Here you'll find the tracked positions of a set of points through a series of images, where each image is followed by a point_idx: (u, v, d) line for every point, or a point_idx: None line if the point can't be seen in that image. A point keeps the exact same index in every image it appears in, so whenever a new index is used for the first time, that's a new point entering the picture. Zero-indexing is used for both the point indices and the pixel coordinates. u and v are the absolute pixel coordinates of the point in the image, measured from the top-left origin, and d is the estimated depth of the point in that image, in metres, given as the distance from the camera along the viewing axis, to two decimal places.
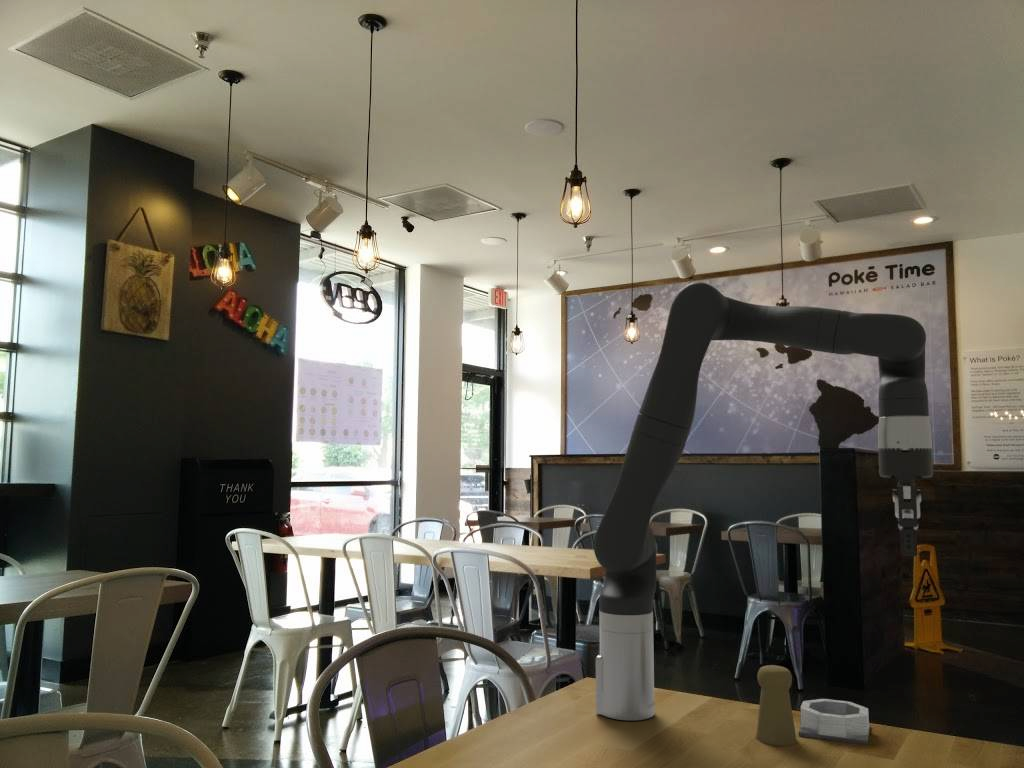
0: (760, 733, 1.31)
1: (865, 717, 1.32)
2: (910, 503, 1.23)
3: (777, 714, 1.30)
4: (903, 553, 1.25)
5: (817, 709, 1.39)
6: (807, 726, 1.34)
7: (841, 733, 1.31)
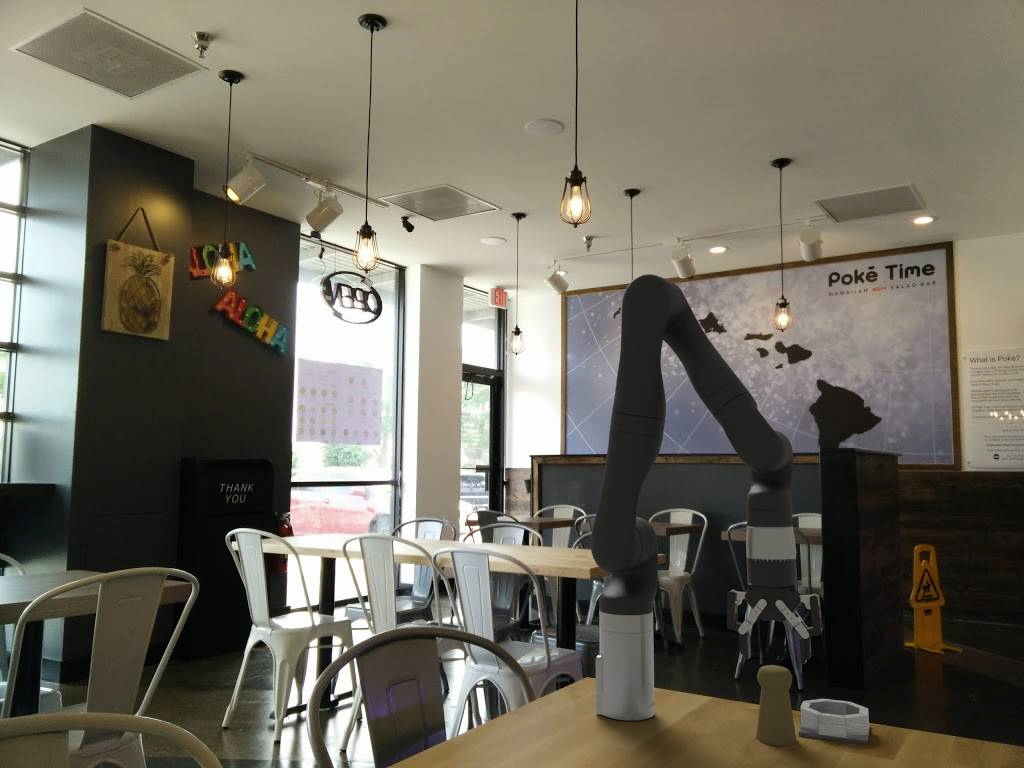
0: (760, 733, 1.31)
1: (865, 717, 1.32)
2: (820, 611, 1.31)
3: (777, 713, 1.30)
4: (805, 661, 1.30)
5: (817, 709, 1.39)
6: (807, 726, 1.34)
7: (841, 733, 1.31)
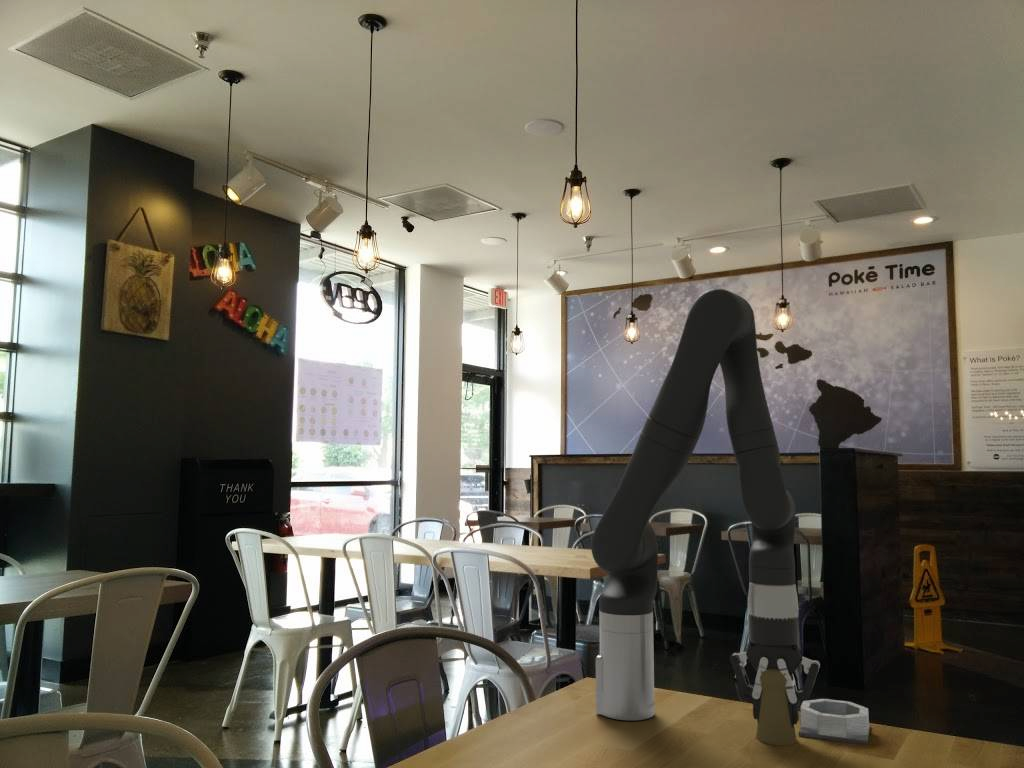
0: (760, 733, 1.31)
1: (865, 717, 1.32)
2: None
3: (777, 713, 1.30)
4: None
5: (817, 709, 1.39)
6: (807, 726, 1.34)
7: (841, 733, 1.31)
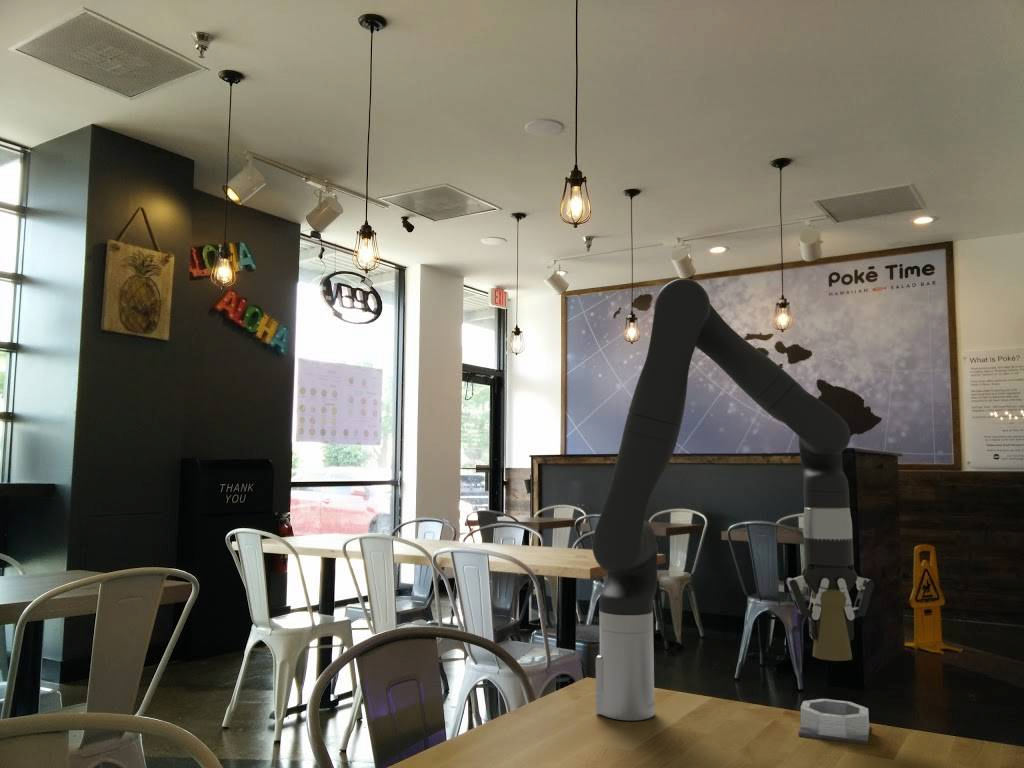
0: (823, 651, 1.35)
1: (865, 717, 1.32)
2: None
3: (839, 631, 1.35)
4: (850, 641, 1.36)
5: (817, 709, 1.39)
6: (807, 726, 1.34)
7: (841, 733, 1.31)
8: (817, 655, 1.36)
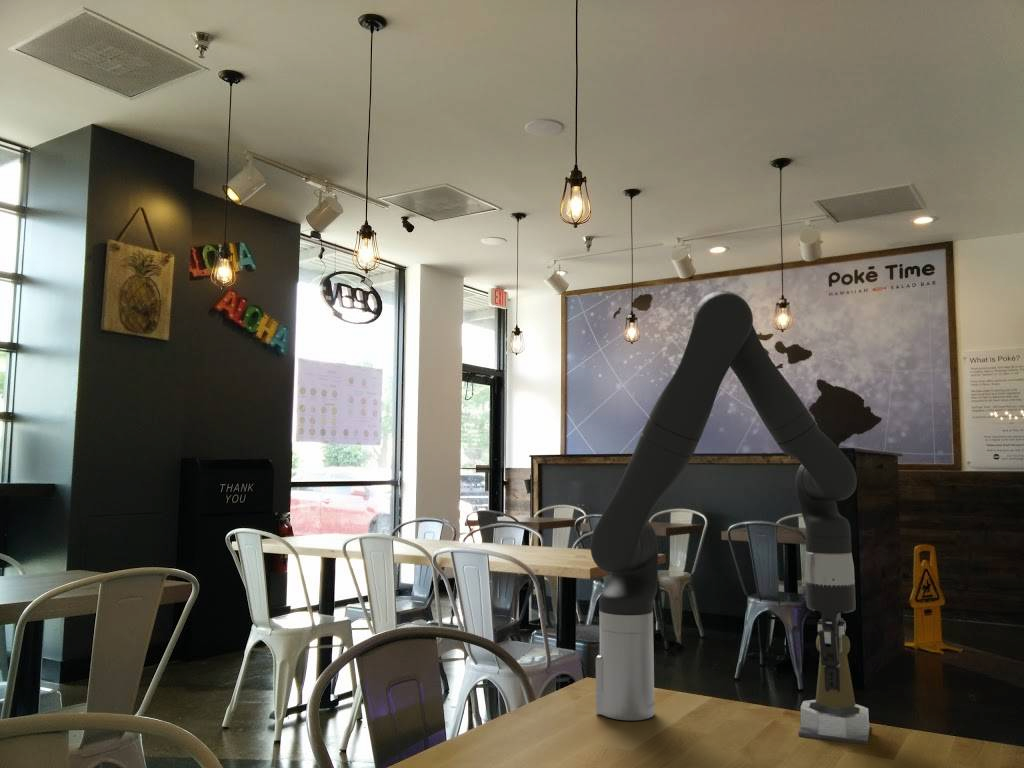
0: (847, 699, 1.34)
1: (865, 717, 1.32)
2: None
3: None
4: None
5: (817, 709, 1.39)
6: (807, 726, 1.34)
7: (841, 733, 1.31)
8: (841, 705, 1.33)
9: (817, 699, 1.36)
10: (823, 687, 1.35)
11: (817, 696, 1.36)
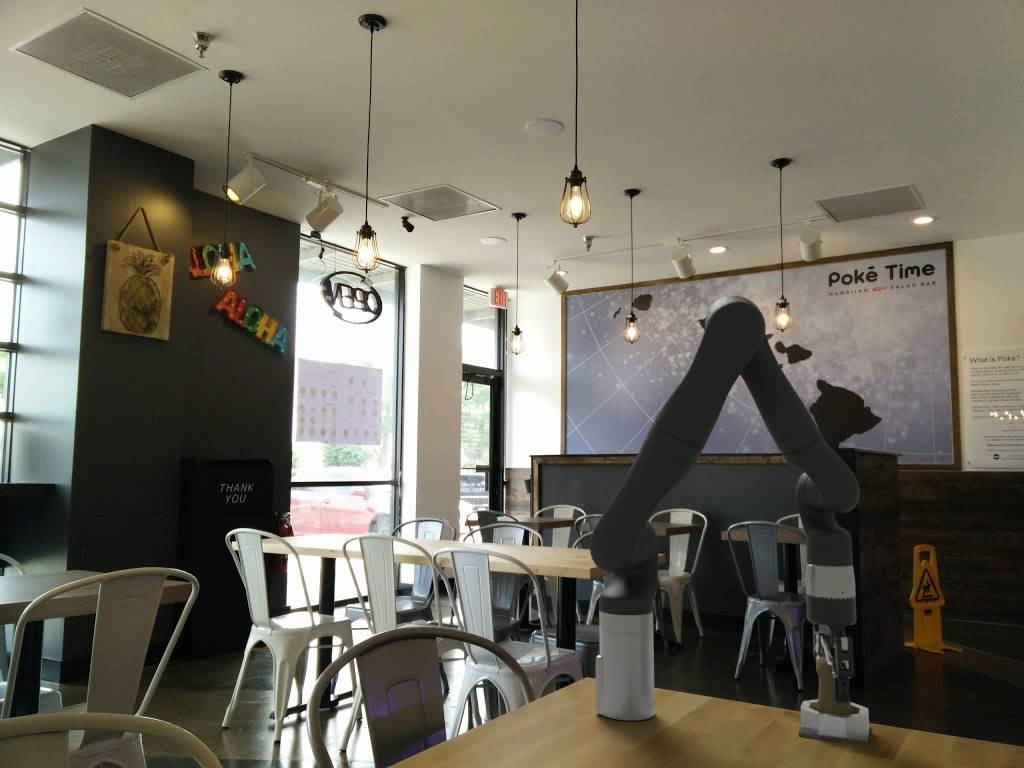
0: None
1: (865, 717, 1.32)
2: None
3: None
4: None
5: None
6: (807, 726, 1.34)
7: (841, 733, 1.31)
8: None
9: None
10: None
11: None
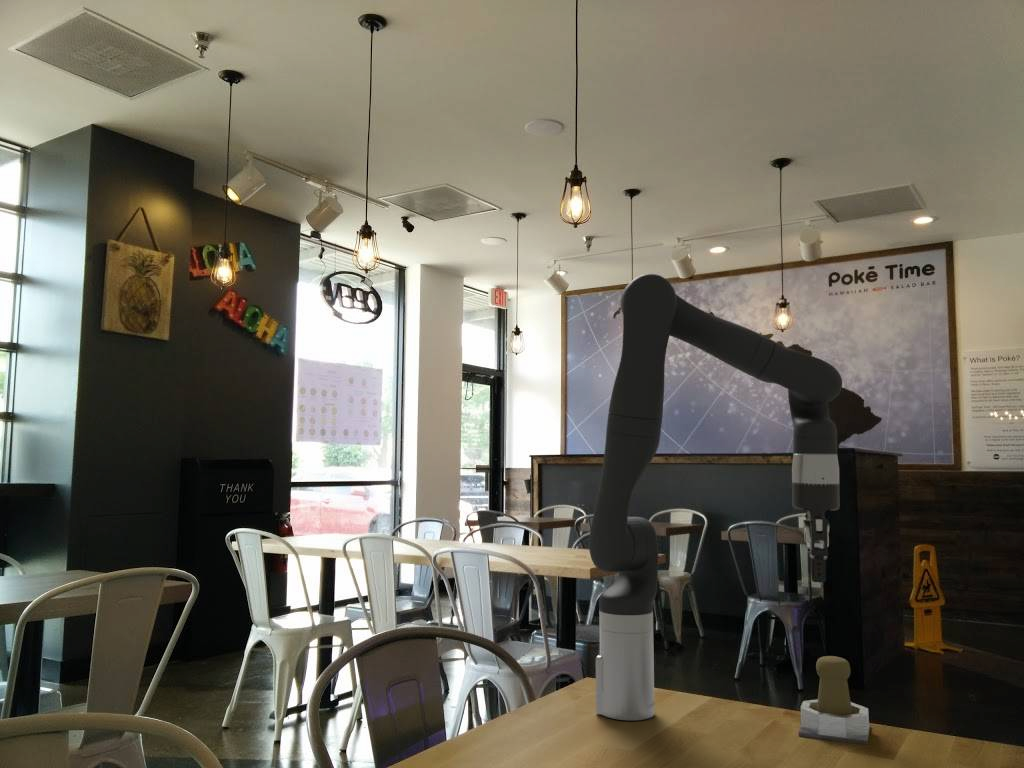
0: None
1: (865, 717, 1.32)
2: None
3: None
4: None
5: None
6: (807, 726, 1.34)
7: (841, 733, 1.31)
8: None
9: None
10: None
11: None
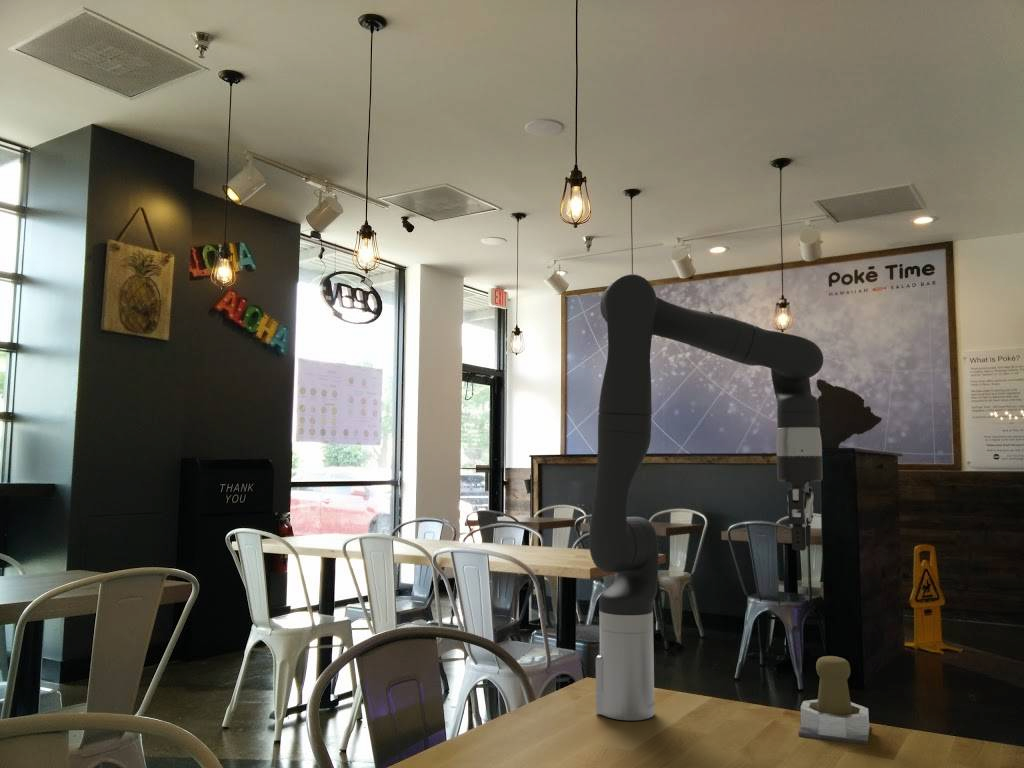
0: None
1: (865, 717, 1.32)
2: None
3: None
4: None
5: None
6: (807, 726, 1.34)
7: (841, 733, 1.31)
8: None
9: None
10: None
11: None
